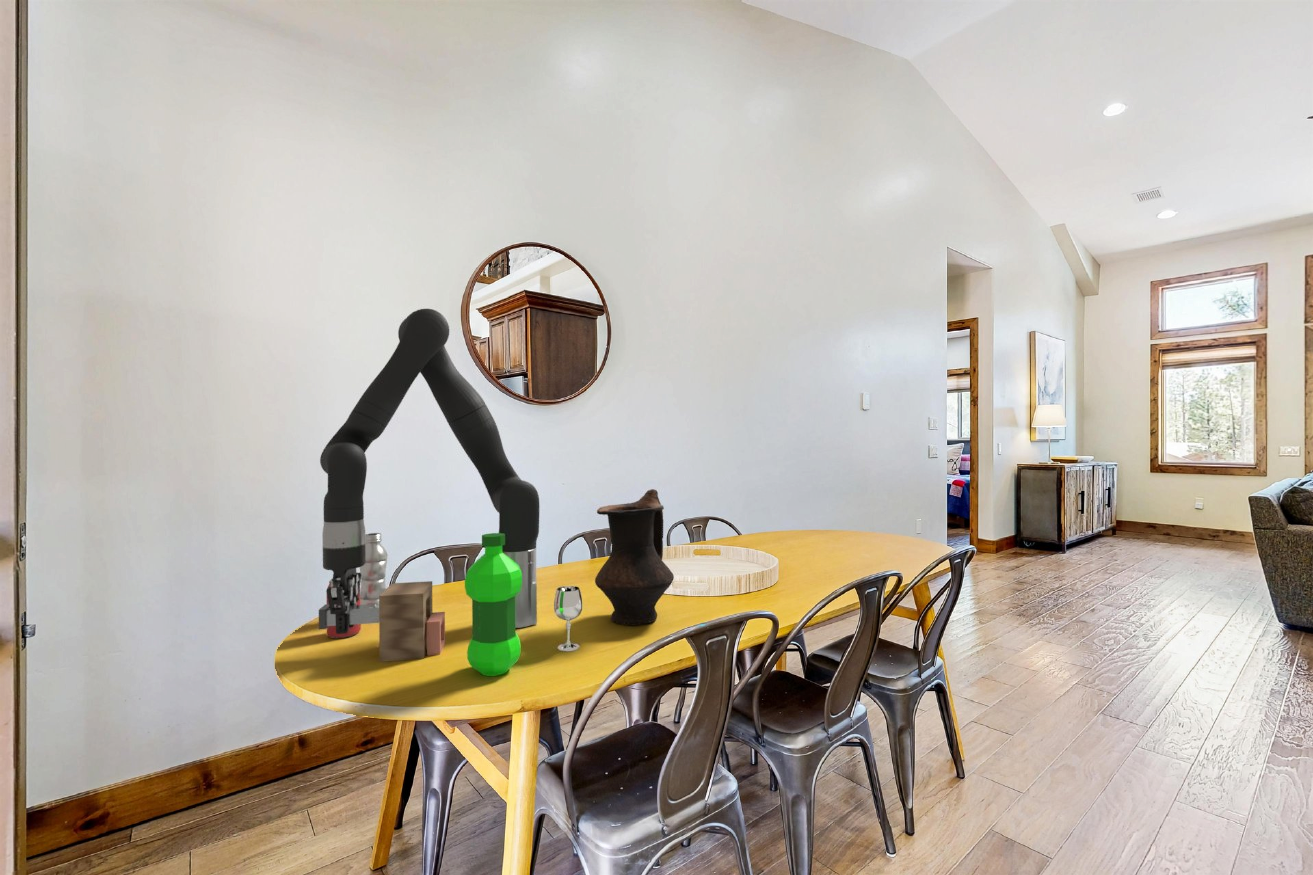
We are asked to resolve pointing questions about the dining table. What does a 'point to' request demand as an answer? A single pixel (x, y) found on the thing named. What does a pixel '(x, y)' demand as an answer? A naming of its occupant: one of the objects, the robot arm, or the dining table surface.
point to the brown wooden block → (404, 620)
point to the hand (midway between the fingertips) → (345, 629)
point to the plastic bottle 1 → (373, 570)
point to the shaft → (350, 615)
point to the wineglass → (568, 610)
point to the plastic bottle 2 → (493, 608)
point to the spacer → (436, 633)
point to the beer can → (352, 631)
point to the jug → (635, 560)
